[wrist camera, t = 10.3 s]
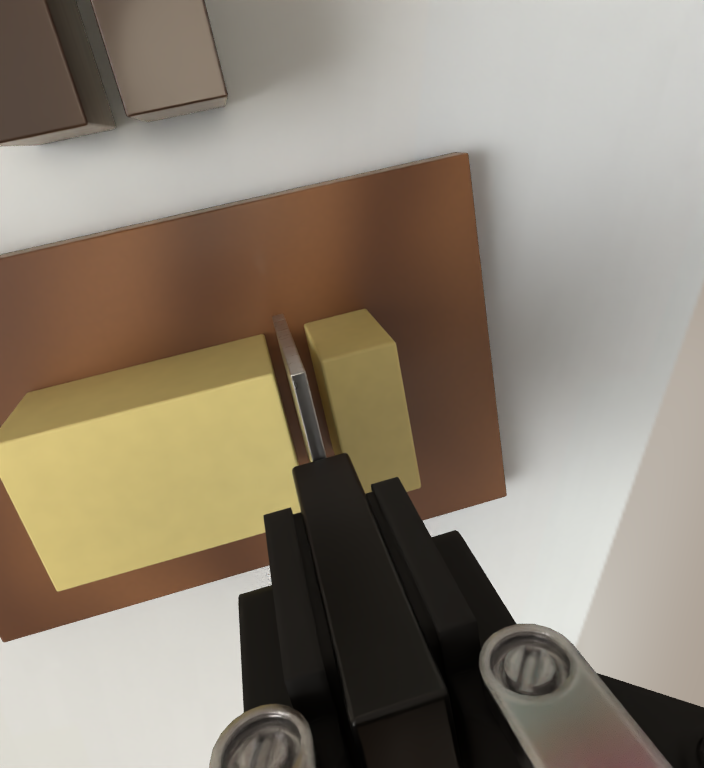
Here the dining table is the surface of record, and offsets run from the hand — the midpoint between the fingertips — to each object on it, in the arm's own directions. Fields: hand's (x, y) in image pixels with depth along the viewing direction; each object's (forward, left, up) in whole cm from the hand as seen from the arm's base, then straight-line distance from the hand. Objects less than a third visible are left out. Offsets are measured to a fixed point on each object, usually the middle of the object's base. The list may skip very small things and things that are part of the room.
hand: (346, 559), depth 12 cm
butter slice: (-2, 0, -8) cm, 9 cm away
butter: (+4, 0, -8) cm, 9 cm away
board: (+2, 0, -9) cm, 10 cm away
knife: (0, 0, -6) cm, 6 cm away
